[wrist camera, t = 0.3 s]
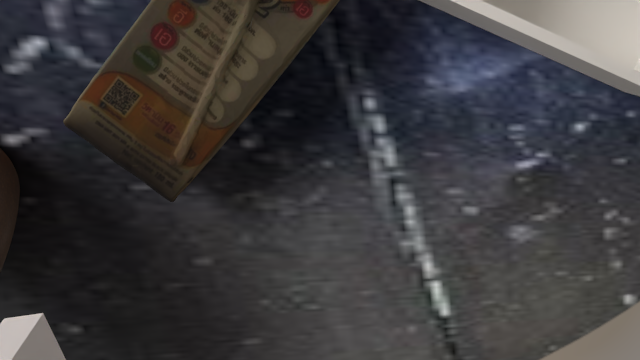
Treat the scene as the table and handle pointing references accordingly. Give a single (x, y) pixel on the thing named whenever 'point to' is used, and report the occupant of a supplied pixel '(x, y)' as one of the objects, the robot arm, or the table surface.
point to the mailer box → (565, 32)
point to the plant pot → (7, 204)
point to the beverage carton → (189, 82)
